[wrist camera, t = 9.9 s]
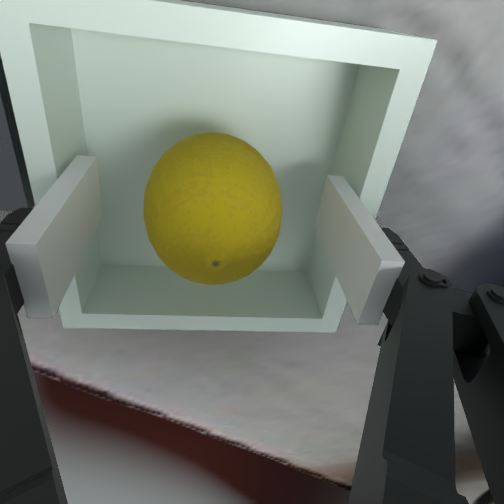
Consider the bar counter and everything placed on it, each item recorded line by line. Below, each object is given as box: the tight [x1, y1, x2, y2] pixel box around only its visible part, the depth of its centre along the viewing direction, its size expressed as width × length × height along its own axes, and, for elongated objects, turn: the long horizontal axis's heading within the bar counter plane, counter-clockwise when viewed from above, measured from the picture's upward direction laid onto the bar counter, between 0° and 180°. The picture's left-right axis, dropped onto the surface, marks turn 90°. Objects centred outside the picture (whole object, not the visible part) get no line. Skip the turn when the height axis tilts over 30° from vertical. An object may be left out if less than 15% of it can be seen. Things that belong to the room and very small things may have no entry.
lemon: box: [143, 132, 282, 285], centre depth 15 cm, size 6×6×8 cm
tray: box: [0, 0, 438, 333], centre depth 18 cm, size 14×14×5 cm
